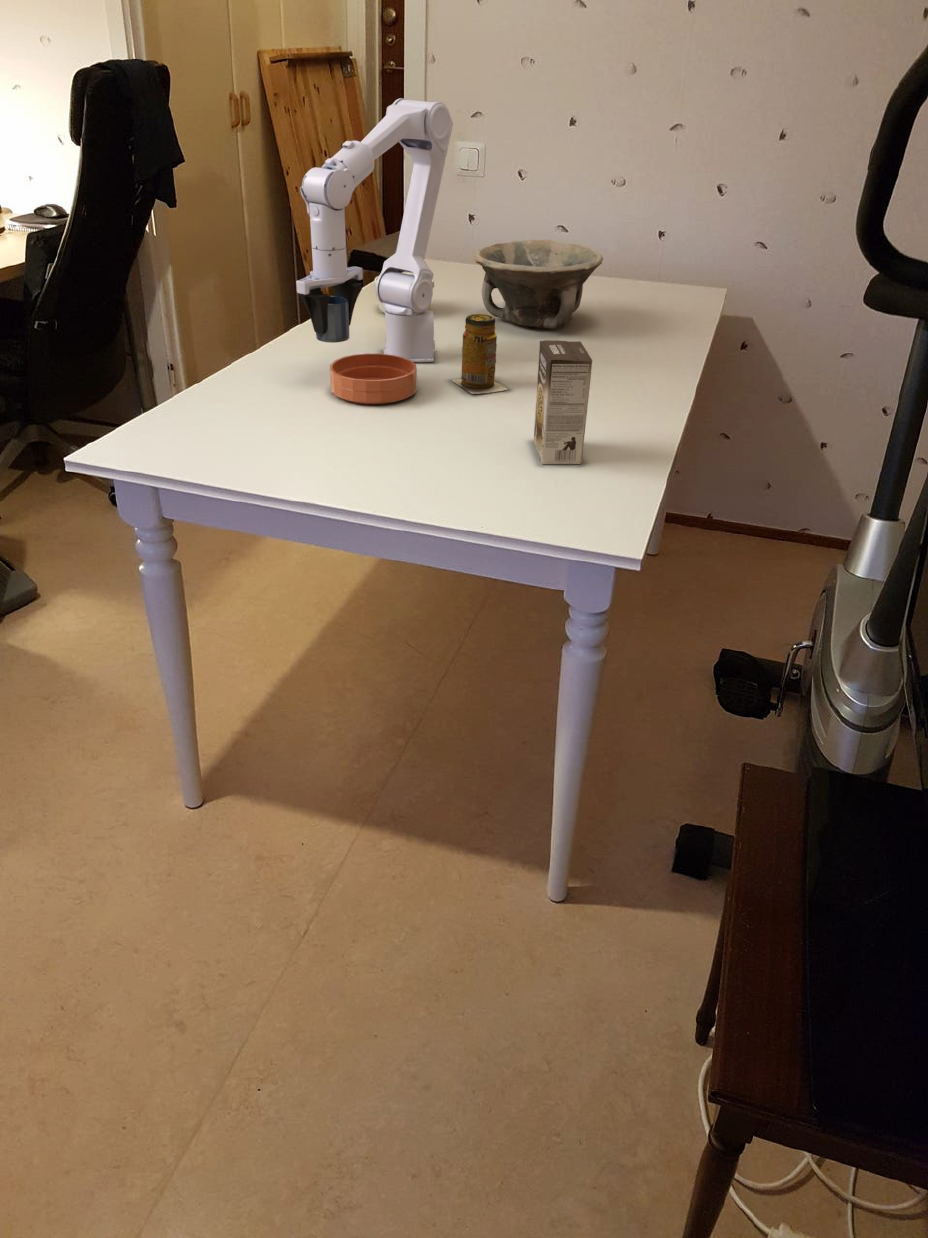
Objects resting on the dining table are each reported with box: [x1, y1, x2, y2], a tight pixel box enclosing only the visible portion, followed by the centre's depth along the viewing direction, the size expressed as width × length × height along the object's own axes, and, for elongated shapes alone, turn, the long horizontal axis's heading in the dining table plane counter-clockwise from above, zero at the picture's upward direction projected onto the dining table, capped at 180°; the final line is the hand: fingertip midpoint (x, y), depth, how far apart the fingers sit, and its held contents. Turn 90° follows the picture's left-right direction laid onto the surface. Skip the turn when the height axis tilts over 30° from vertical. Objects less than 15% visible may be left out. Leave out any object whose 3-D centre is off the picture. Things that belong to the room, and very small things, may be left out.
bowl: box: [474, 239, 604, 330], centre depth 202 cm, size 27×26×15 cm
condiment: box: [451, 313, 509, 395], centre depth 167 cm, size 7×8×12 cm
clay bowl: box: [329, 352, 418, 405], centre depth 165 cm, size 15×15×4 cm
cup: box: [315, 295, 350, 344], centre depth 164 cm, size 6×6×6 cm
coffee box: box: [533, 339, 593, 465], centre depth 141 cm, size 9×6×16 cm
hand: (332, 328), depth 165 cm, fingers closed on cup, 6 cm apart
